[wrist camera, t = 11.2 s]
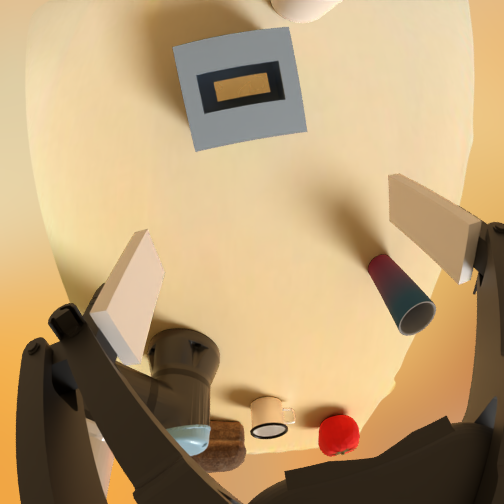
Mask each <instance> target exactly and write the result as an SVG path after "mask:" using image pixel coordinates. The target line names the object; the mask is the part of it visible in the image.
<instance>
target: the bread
mask: <svg viewBox="0 0 504 504" xmlns="http://www.w3.org/2000/svg"><path fill="white" fill-rule="evenodd" d="M210 427H211V430H210V435H209V444H208V447H207V448H206V449H205V450H204V451H203V452H201V453H199V454H197V455H193V456H191V457H192V458H193V459H194V460H195V461H196V462H197V463H198V464H199V465H200V466H201V467H202V468H203V469H204V470H205V471H206V472H207V473H212V472H224V471H230V470H233V469H235V468H237V467H238V466H239V465H241V464H242V463H243V462H244V458H245V455H246V448H245V446H244V440H245V439H244V429H243V426H242V425H241V424H240V423H239V422H221V421H210Z"/></svg>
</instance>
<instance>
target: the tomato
mask: <svg viewBox="0 0 504 504" xmlns="http://www.w3.org/2000/svg"><path fill="white" fill-rule="evenodd" d="M359 438H360V435H359V428H358V425H357V423H356V422H355V421H354V419H353V418H351V417H349V416H346V415H336V416H332V417H329V418H327V419H325V420H324V421H323V422H322V423H321V425H320V428H319V447H320V450H321V451H322V452H323V453H324V454H325V455H327V456H330V457H331V456H336V455H338V454H342V455H344V454H346V453H349V452H351V451H353V450H354V449H355V448H356V447H357V446H358V443H359Z"/></svg>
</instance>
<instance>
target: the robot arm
mask: <svg viewBox="0 0 504 504" xmlns="http://www.w3.org/2000/svg"><path fill="white" fill-rule="evenodd" d="M388 180H389V217H390V222H391V223H393V224H394V225H395V226H396V227H397V228H398V229H400V230H401V231H402V232H403V233H404V234H405V235H407V236H408V237H409V238H410V239H411V240H412V241H413V242H414V243H416V244H417V245H418V246H419V247H420V248H421V249H422V250H423V251H424V252H425V253H426V254H428V255H429V256H430V257H431V258H432V259H433V260H434V261H435V262H436V263H437V264H438V265H439V266H440V267H441V268H442V269H443V270H444V271H445V272H446V273H447V274H448V275H449V276H451V278H453V280H455V282H456V283H457V284H458V285H459V284H461V283H464V282H466V281H469V280H471V275H472V271H473V267H474V268H475V269H476V270H477V271H478V272H479V273H478V277H477V281H476V285H475V289H474V292H473V294H475V293H476V291H477V330H476V346H475V357H474V367H473V375H472V382H471V389H470V395H469V400H468V406H467V410H466V413H465V416H464V418H463V420H462V422H459V423H452V424H451V423H450V421H449V420H448V418H447V416H445V417H443V418H441V419H439V420H437V421H435V422H433V423H431V424H429V425H427V426H425V427H423V428H421V429H418V430H416V431H414V432H412V433H411V434H409V435H408V436H407V437H405V438H404V439H402V440H401V441H400V442H398V443H397V444H395V445H394V446H392V447H391V448H390V449H388V450H387V451H385V452H384V453H382V454H380V455H379V456H377V457H374V458H368V459H359V460H347V461H328V462H325V463H320V464H316V465H312V466H308V467H304V468H298V469H294V470H289V471H285V478H286V479H285V480H283V481H281V482H278V483H276V484H274V485H272V486H271V487H269V488H267V489H266V490H264V491H263V492H261V493H260V494H258V495H257V496H256V497H255V498H254V499H253V500H251V501H250V502H249V503H248V504H504V224H502V223H499V222H493V223H490V224H486V223H485V222H483V221H482V220H480V219H479V218H477V217H476V216H474V215H472V214H471V213H470V212H468V211H466V210H465V209H463V208H462V207H460V206H458V205H456V204H454V203H452V202H451V201H449V200H447V199H446V198H444V197H442V196H440V195H439V194H437V193H435V192H433V191H432V190H430V189H428V188H426V187H424V186H422V185H421V184H419V183H417V182H415V181H413V180H411V179H409V178H407V177H405V176H403V175H401V174H394V175H388ZM164 275H165V271H164V269H163V266H162V264H161V261H160V259H159V256H158V254H157V251H156V249H155V246H154V244H153V241H152V239H151V236H150V234H149V231H148V229H146V230H142V231H138V232H135V233H134V235H133V237H132V238H131V240H130V241H129V243H128V245H127V246H126V248H125V250H124V251H123V253H122V255H121V256H120V258H119V260H118V262H117V263H116V265H115V267H114V268H113V270H112V272H111V274H110V276H109V277H108V279H107V281H106V283H103V284H102V285H101V286H100V287H99V288H98V289H97V290H96V292H95V294H94V296H93V299H91V301H90V303H89V305H88V307H87V309H86V311H85V313H84V315H83V316H82V315H81V313H80V312H79V310H78V308H77V307H76V305H75V304H73V303H69V304H65V305H63V306H61V307H60V308H58V309H57V310H56V311H54V312H53V314H52V315H51V316H50V318H49V320H48V324H49V326H50V327H51V329H52V330H53V332H54V333H55V334H56V336H57V337H58V339H59V340H60V341H59V342H57V343H55V344H52V345H49V344H48V343H47V341H46V340H45V339H44V338H41V337H40V338H36V339H34V340H33V341H30V342H29V343H28V344H27V346H26V348H25V349H24V351H23V354H22V360H21V368H20V375H19V385H18V396H17V411H16V459H17V474H18V485H19V493H20V500H21V504H108V503H107V500H106V496H107V491H108V486H109V480H110V475H111V470H112V465H113V460H114V457H115V458H116V460H117V461H118V463H119V464H120V466H121V468H122V469H123V471H124V472H125V474H126V475H127V477H128V478H129V480H130V481H131V482H132V484H133V486H134V487H135V491H134V492H133V496H134V499H135V501H136V502H137V504H243V503H241V502H240V501H239V500H238V499H237V498H235V497H234V496H233V495H232V494H230V493H229V492H228V491H227V490H225V489H224V488H223V487H222V486H221V485H220V484H218V483H217V482H216V481H215V480H214V479H213V478H212V477H211V476H210V475H209V474H208V473H207V472H206V471H205V470H204V469H203V468H202V467H201V466H200V465H199V464H198V463H197V462H196V461H195V460H194V459H193V458H192V457H191V456H193V455H197V454H199V453H201V452H203V451H204V450H205V449H206V448H207V447H208V444H209V435H210V430H211V427H210V386H211V383H212V381H213V379H214V377H215V374H216V372H217V370H218V367H219V363H220V353H219V349H218V347H217V346H216V344H215V343H214V342H213V341H212V340H211V339H210V338H208V337H207V336H205V335H203V334H201V333H198V332H196V331H192V330H187V329H169V330H165V331H162V332H160V333H158V334H157V335H155V336H154V337H153V338H152V340H151V342H150V345H149V349H148V360H149V366H150V372H151V377H150V376H148V375H146V374H143V373H141V372H139V371H137V370H135V369H132V368H130V367H128V366H126V365H134V364H141V360H142V356H143V352H144V348H145V344H146V340H147V336H148V332H149V328H150V324H151V321H152V317H153V313H154V310H155V306H156V302H157V299H158V295H159V292H160V288H161V285H162V282H163V278H164ZM117 356H118V357H119V359H120V360H121V362H122V363H123V364H122V363H120V362H118V361H116V358H117Z"/></svg>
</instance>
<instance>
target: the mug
mask: <svg viewBox="0 0 504 504" xmlns="http://www.w3.org/2000/svg"><path fill="white" fill-rule="evenodd" d="M250 406H251V418H252V429H251V431H250V432H251V435H252V436H253V437H255V438H258V439H272V438H277V437H280V436H282V435H284V434H285V433H286V432H287V431H288V427H287V426H286V425H285V424H292V423H295V421H296V416H295V412H294V410H293V409H292V408H282V402H281V400H279V399H278V398H274V397H263V398H259V399H257V400H255V401H253V402H252V403H251V405H250ZM286 410H292V412H293V416H294V421H290V422H285V421H284V415H283V411H286Z"/></svg>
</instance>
